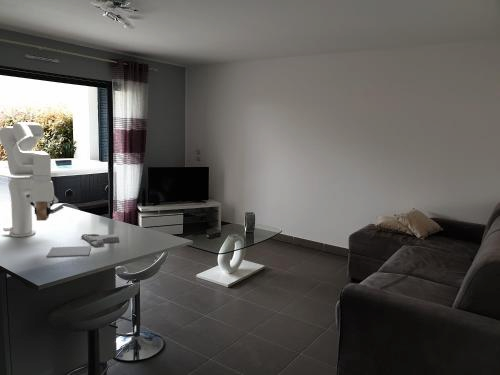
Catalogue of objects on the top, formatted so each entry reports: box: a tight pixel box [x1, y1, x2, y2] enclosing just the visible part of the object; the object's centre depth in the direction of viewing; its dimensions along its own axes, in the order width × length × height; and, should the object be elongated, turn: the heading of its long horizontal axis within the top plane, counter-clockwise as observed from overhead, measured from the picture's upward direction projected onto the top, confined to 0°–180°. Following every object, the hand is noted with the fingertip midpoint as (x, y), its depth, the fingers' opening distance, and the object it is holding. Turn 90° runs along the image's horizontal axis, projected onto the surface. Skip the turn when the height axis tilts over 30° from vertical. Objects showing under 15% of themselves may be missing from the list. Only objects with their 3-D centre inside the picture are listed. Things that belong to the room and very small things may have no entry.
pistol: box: [80, 233, 120, 247], centre depth 209 cm, size 20×3×16 cm
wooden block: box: [35, 202, 50, 222], centre depth 188 cm, size 4×7×9 cm, turn 17°
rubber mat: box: [46, 245, 92, 258], centre depth 186 cm, size 18×14×1 cm
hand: (42, 215), depth 188 cm, fingers closed on wooden block, 4 cm apart
